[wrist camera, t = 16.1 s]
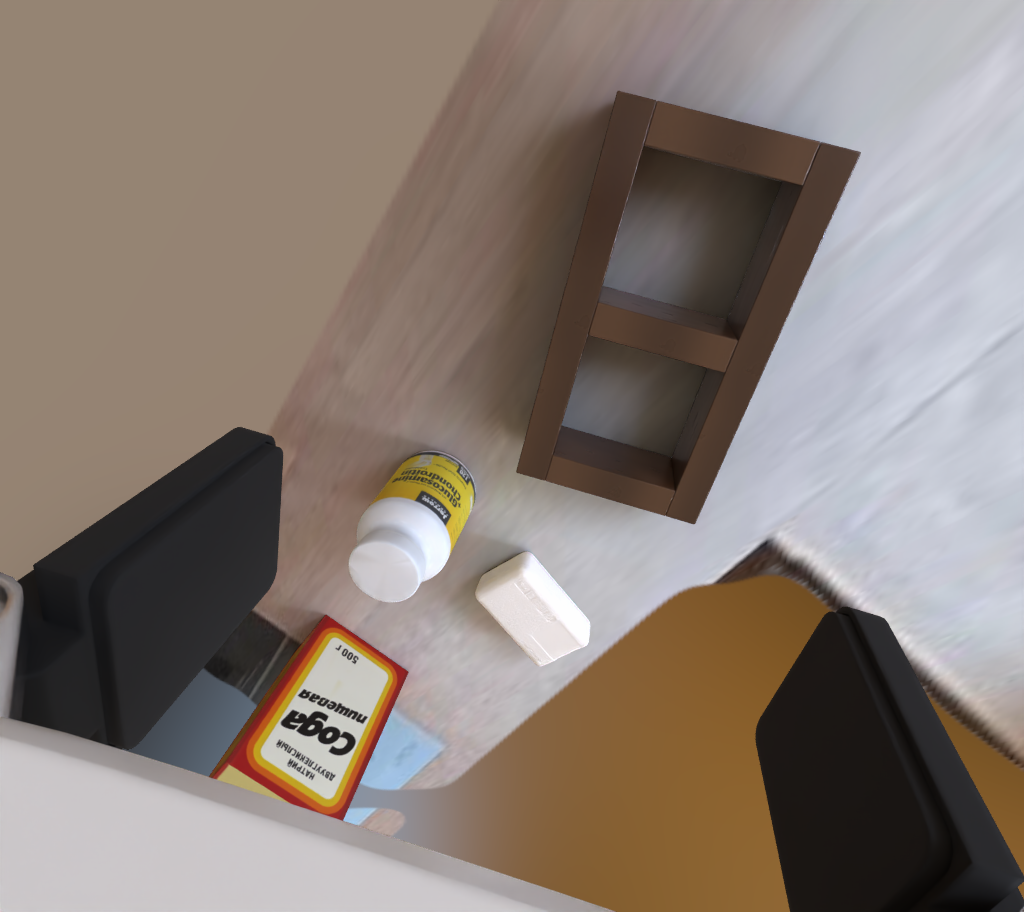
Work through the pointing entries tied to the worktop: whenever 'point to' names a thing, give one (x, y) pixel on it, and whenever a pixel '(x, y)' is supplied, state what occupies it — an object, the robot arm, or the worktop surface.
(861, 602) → the worktop surface
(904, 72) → the worktop surface
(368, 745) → the baking soda box
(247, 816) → the robot arm
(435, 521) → the pill bottle
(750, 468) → the worktop surface
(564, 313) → the brown divided wooden tray
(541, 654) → the soap
